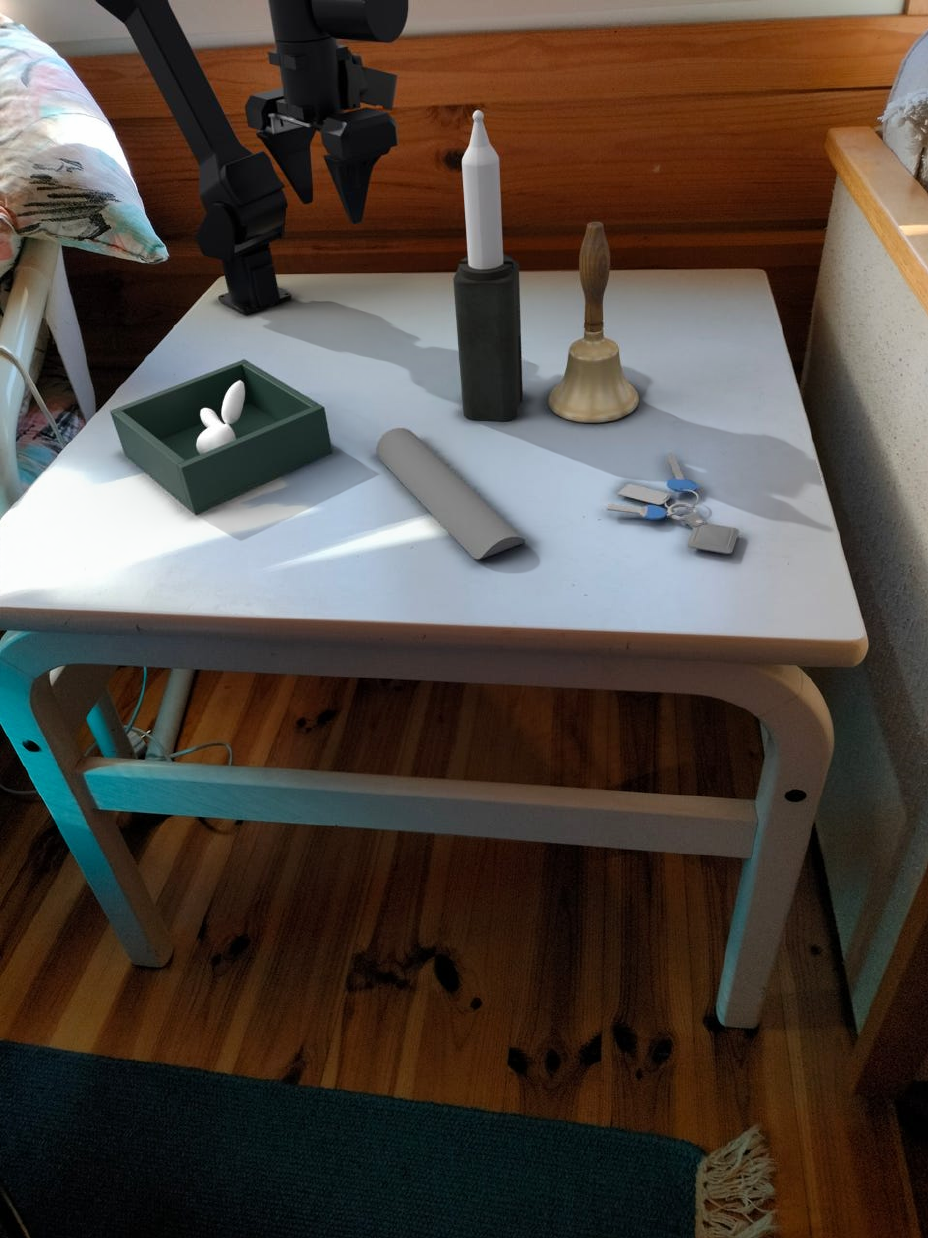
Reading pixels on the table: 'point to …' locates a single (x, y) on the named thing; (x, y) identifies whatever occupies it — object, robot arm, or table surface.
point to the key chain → (702, 532)
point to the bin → (263, 450)
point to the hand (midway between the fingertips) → (331, 212)
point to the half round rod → (446, 495)
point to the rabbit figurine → (216, 429)
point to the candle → (487, 293)
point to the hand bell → (593, 349)
